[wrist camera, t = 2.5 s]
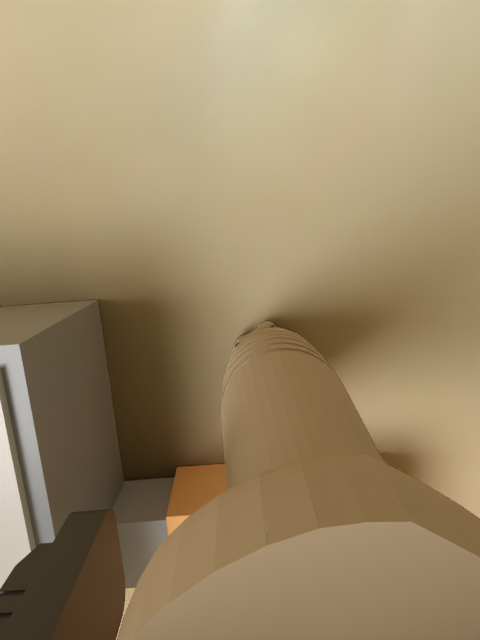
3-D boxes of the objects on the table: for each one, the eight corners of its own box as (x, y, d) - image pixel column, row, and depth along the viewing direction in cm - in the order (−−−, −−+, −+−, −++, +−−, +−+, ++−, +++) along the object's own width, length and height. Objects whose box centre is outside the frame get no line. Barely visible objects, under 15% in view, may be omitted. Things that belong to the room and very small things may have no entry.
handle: (275, 262, 18) (465, 423, 3) (353, 383, 19) (740, 882, 5) (180, 326, 19) (-7, 701, 4) (262, 440, 20) (353, 1051, 5)
